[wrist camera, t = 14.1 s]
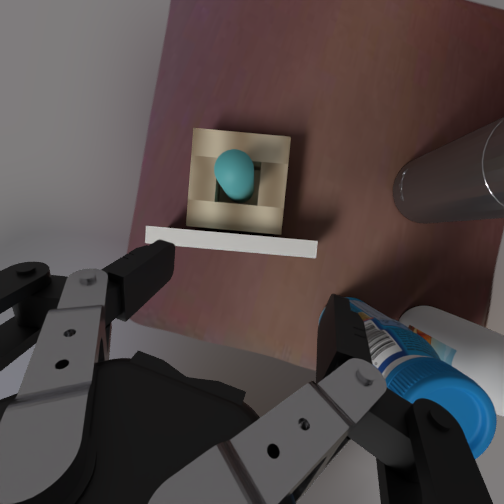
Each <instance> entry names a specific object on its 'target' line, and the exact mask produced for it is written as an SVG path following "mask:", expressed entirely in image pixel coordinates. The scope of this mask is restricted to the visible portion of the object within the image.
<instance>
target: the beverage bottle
mask: <svg viewBox="0 0 504 504" xmlns="http://www.w3.org/2000/svg"><path fill="white" fill-rule="evenodd" d="M345 298H348V299H349V302H350V308H351V311H354V312H357V313H358V314H359V315H360V317H361V318H362V320H363V321H364V324H365V329H366V331H365V332H366V334H367V340H368V344H369V348H370V353H371V358H372V363H373V366H375V367H376V368H377V369H378V370H379V371H380V372H381V374H382V375H383V377H384V378H385V381H386V384H387V387H388V388H389V389H390V390H391V391H393V392H394V393H396V394H398V395H399V396H401V397H402V398H404V399H406V400H407V401H409V402H410V403H412V404H413V403H414V402H415V400H417V399H419V398H426V399H429V400H432V401H434V402H436V403H438V404H440V405H441V406H442V407H444V408H445V409H446V410H447V411H449V412H450V413H451V414H452V415H453V416H454V418H455V419H456V420H457V421H458V423H459V424H460V426H461V428H462V430H463V432H464V434H465V437H466V439H467V442H468V444H469V446H470V449H471V451H472V454H473V456H474V459H476V458H478V457H479V456H480V455H481V454H482V453H483V452H484V451H485V450H486V449H487V447H488V446H489V444H490V443H491V441H492V439H493V436H494V434H495V429H496V412H495V408H494V405H493V403H492V401H491V399H490V397H489V396H488V394H487V393H486V392H485V391H484V390H483V389H482V388H481V387H480V386H479V385H478V384H477V383H476V382H475V381H474V380H472V379H471V378H469V377H468V376H466V375H465V374H463V373H462V372H460V371H459V370H457V369H456V368H454V367H452V366H451V365H449V364H448V363H446V362H444V361H442V360H441V359H440V357H439V356H438V354H437V352H436V351H435V350H434V348H433V347H432V346H431V345H430V344H429V343H428V342H427V341H426V340H425V339H424V338H423V337H421V336H420V335H418V334H416V333H414V332H413V331H412V330H410V329H409V328H408V327H407V326H405V325H404V324H402V323H400V322H399V321H397V320H394V319H391V318H389V317H387V316H386V315H384V314H382V313H381V312H379V311H377V310H376V309H374V308H372V307H371V306H369V305H367V304H366V303H365V302H363V301H361V300H359V299H356V298H352V297H345ZM325 308H326V307H325ZM325 308H324V309H323V311H322V313H321V315H320V318H319V323H320V319H321V317H322V315H323V312H324V310H325Z"/></svg>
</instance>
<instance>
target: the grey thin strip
mask: <svg viewBox="0 0 504 504" xmlns="http://www.w3.org/2000/svg"><path fill="white" fill-rule="evenodd" d="M399 322H400V323H402V324H404V325H405V326H407V327H408V328H409V329H410V330H412V331H413V332H414V333H416V334H418V335H420V336H421V337H423V338H424V339H425V340H426V341H427V342H428V343H429V344H430V345H431V346H432V347H433V348H434V350H435V351H436V352H437V354H438V356H439V357H440V359H441V360H442V361H444V362H446V363H448V364H449V365H451V366H452V367H454V368H456V369H457V370H459V371H460V372H462V373H463V374H465V375H466V376H468V377H469V378H471V379H472V380H474V381H475V382H476V383H477V384H478V385H479V386H480V387H481V388H482V389H483V390H484V391H485V392H486V393H487V394H488V396H489V397H490V399H491V401H492V403H493V405H494V408H495V412H496V414H498V415H501V416H504V336H503V335H501V334H499V333H497V332H495V331H492V330H490V329H487V328H485V327H482V326H480V325H478V324H475V323H473V322H470V321H468V320H465V319H463V318H460V317H458V316H455V315H453V314H450V313H448V312H445V311H443V310H440V309H437V308H434V307H431V306H417V307H414V308H411V309H409V310H408V311H406V312H405V313H404V314H403V315H402V316H401V318H400V319H399Z"/></svg>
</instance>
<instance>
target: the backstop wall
mask: <svg viewBox="0 0 504 504" xmlns="http://www.w3.org/2000/svg"><path fill="white" fill-rule="evenodd" d="M159 239H161V240H164V241H167V242H170V243H173V244H174V245H175V246H184V247H196V248H207V249H218V250H229V251H241V252H252V253H263V254H274V255H286V256H297V257H308V258H316V253H317V244H318V241H311V240H300V239H289V238H277V237H266V236H255V235H243V234H232V233H221V232H210V231H198V230H187V229H176V228H164V227H153V226H146V238H145V243H151V244H152V243H154V242H155V241H157V240H159Z"/></svg>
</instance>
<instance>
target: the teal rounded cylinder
mask: <svg viewBox="0 0 504 504" xmlns="http://www.w3.org/2000/svg"><path fill="white" fill-rule="evenodd" d="M214 173H215V177H216V179H217V181H218V182H219V184H220V185H221V187H222V188H223V190H224V191H225V193H226V194H227V196H228V197H229V198H230V199H231V200H232V201H234V202H236V203H243V202H246V201H248V200H249V199H250V198H251V197H252V195H253V193H254V166H253V162H252V160H251V158H250V157H249V156H248V155H247V154H246V153H245V152H243V151H241V150H237V149H231V150H227V151H225V152H223V153H222V154H221V155H220V156H219V157H218V158H217V160H216V162H215V166H214Z"/></svg>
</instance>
